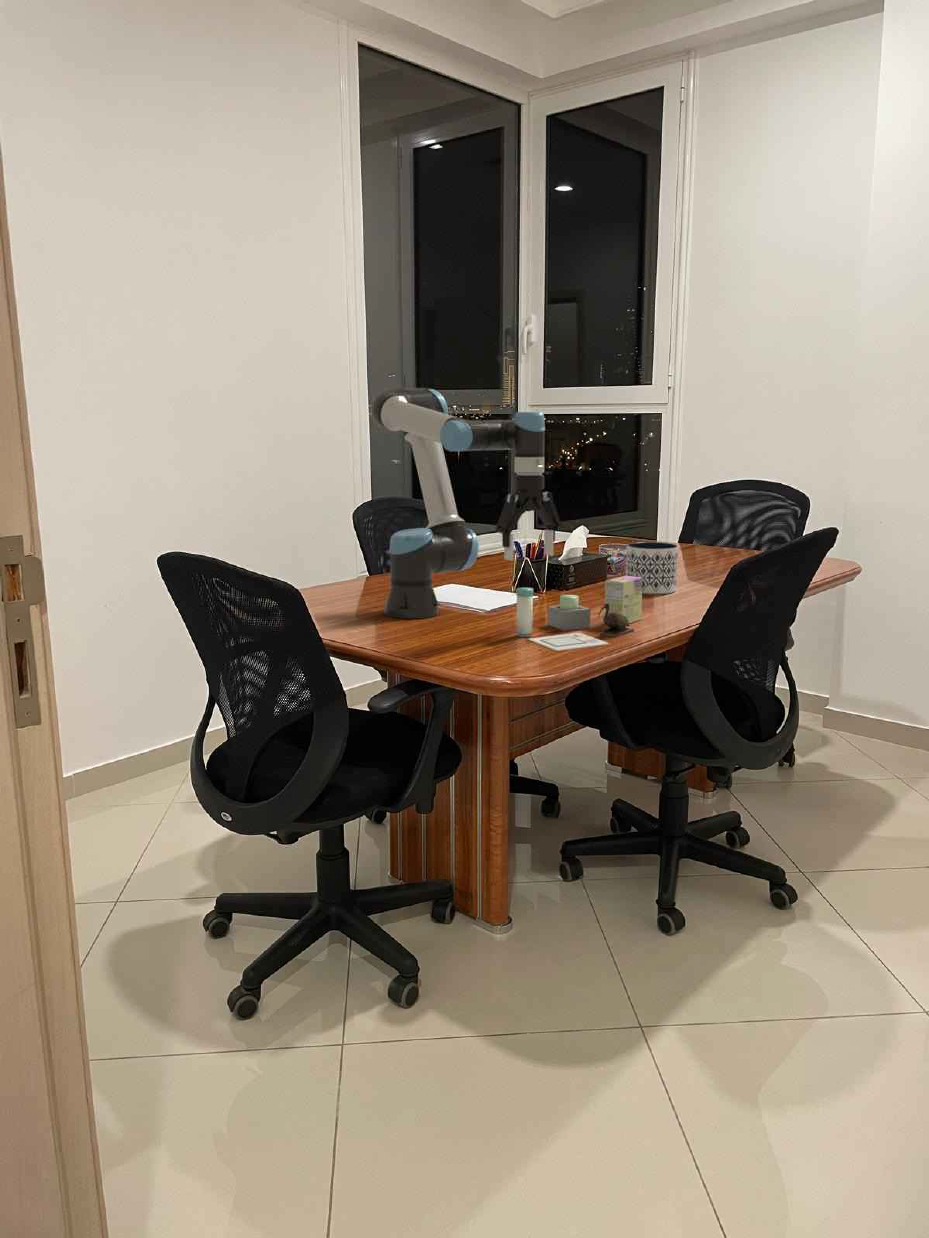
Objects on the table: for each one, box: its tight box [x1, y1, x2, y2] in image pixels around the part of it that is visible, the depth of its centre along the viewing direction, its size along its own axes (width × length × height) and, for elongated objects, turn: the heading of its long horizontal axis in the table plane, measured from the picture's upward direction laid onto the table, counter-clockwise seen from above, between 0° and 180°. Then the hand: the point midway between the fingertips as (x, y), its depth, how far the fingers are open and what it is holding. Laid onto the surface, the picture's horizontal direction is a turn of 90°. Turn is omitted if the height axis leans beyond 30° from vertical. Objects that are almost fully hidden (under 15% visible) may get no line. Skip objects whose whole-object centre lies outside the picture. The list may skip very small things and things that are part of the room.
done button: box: [559, 594, 580, 611], centre depth 251 cm, size 5×5×6 cm
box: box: [604, 575, 643, 624], centre depth 256 cm, size 10×6×12 cm, turn 141°
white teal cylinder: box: [515, 587, 534, 638], centre depth 240 cm, size 4×4×12 cm
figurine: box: [597, 603, 635, 639], centre depth 241 cm, size 14×4×9 cm, turn 141°
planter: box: [625, 541, 679, 595], centre depth 301 cm, size 16×16×14 cm
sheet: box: [528, 632, 610, 652], centre depth 234 cm, size 15×13×1 cm
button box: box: [547, 604, 592, 632], centre depth 251 cm, size 8×8×5 cm
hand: (529, 557), depth 246 cm, fingers open, 13 cm apart
